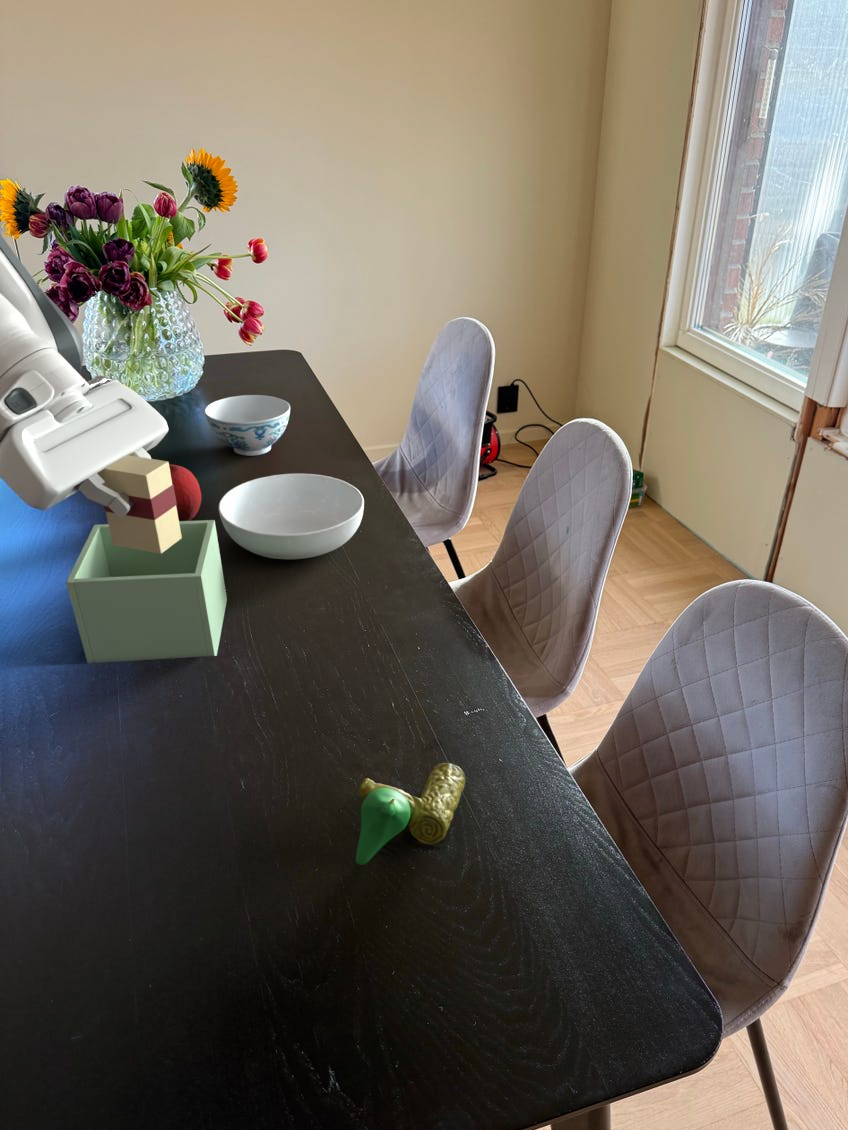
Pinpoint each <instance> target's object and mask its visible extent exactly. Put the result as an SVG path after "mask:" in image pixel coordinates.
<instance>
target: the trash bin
mask: <svg viewBox="0 0 848 1130" xmlns="http://www.w3.org/2000/svg"><path fill="white" fill-rule="evenodd" d="M179 525H180V530H181V536H182V538H181V539H180V540H179V541H177V542H176V543H175V544H173V545H172V546H171V547H170V548H168V549H167V550H166V551H164V552H163V553H162V554H159V553H153V552H148V551H142V550H137V549H132V548H126V547H121V546H115V545H113V542H112V538H111V533H110V529H109V524H108V523H105V524H103V523H102V524H94V525H93V526H92V529H90V533H89V535H88V536H87V539H86V540H85V543H84V545H83V546H82V549H81V551H80V553H79V555H78V557H77V559H76V561H75V562H74V565H73V567H72V569H71V571H70V573H69V576H68V578H67V579H66V581H65V586H66V588H67V592H68V596H69V600H70V603H71V607H72V612H73V614H74V618H75V621H76V626H77V630H78V634H79V637H80V640H81V645H82V649H83V651H84V656H85V659H86V663H87V664H100V663H117V662H119V663H120V662H134V661H135V662H136V661H153V660H169V659H170V660H171V659H185V658H187V659H188V658H200V657H203V658H205V657H218V652H219V651H218V650H219V647H220V640H221V634H222V629H223V623H224V618H225V613H226V608H227V602H228V598H227V597H228V596H227V592H226V586H225V585H226V584H225V579H224V578H225V577H224V572H223V565H222V559H221V553H220V547H219V546H220V545H219V541H218V532H217V527H216V521H215V519H205V520H190V521H179Z"/></svg>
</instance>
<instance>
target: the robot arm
mask: <svg viewBox="0 0 848 1130" xmlns="http://www.w3.org/2000/svg"><path fill="white" fill-rule="evenodd" d="M83 362H84V343H83V340H82V337H81V334H80V333H79V331H78V330H77V328H76V326H75V325H74V323H73V321H71V320H70V318H69V317H68V316H67V315H66V314H65V313H64V311H62V310H61V308H60V307H59V306H58V305H57V304H56V303H55V302H54V301H53V300H52V299H51V298H50V297H49V296H48V295H47V294H46V293H45V291H44V290H43V289H42V288H41V286H40V285H39V284H38V282H37V281H36V280H35V279H34V277H33V276H32V274H30V272H29V270H27V267H26V266H25V265H24V264H23V263H22V261H21V260H20V258H19V257H18V256H17V254H16V252H14V250H13V249H12V248H11V246H10V245H9V244H8V242H7V241H6V239H5V238H4V237H3V235H2V234H1V233H0V479H1V480H2V481H3V482H4V483H5V485H7V486H8V488H10V490H12V491H13V493H15V495H17V497H18V498H19V499H21V500H22V501H23V502H24V504H26V505H27V506H29V507H31V508H34V509H37V510H40V511H43V512H44V511H47V510H49V509H51V508H53V507H55V506H56V505H57V504H59V503H61V502H63V501H64V500H67V499H69V498H70V497H71V496H73V495H75V494H77V493H78V492H80V493H81V494H82V495H83V496H84V497H85V498H86V499H88V500H90V501H92V502H95V503H97V504H99V505H102V506H103V505H104V506H108V507H109V508H110V509H111V510H112V511H113V512H114V513H115V514H116V515H117V516H119V517H123V516H125V515H126V514H128V513H129V512H130V511H131V510H132V509H133V508H134V507H135V503H134V501H133V500H132V499H130V497H129V496H128V495H127V494H126V493H125V492H123V493H121V494H119V493H117V492H115V491H113V490H111V489H109V488H107V487H106V486H104V485H103V484H104V483H105V481H104V480H103V479H102V478H101V477H100V476H99V475H98V474H97V473H98V472H100V471H102V470H103V469H105V468H107V467H108V466H110V465H112V464H114V463H115V462H117V461H119V460H121V459H122V458H124V457H126V456H128V455H129V456H136V457H142V458H149V459H152V457H151V455H150V454H149V453H148V451H150V450H152V449H153V448H155V447H156V446H158V444H159V443H161V441H162V440H163V439H164V437H165V436H166V435H167V434H168V432H169V426H168V422H167V420H166V419H165V418H164V416H163V415H162V414H160V412H159V411H157V409H155V408H154V407H153V406H152V405H151V404H150V403H149V402H147V401H146V400H145V399H144V398H143V397H142V396H141V395H139V394H138V393H137V392H136V391H135V390H133V389H132V388H131V387H129V386H127V385H126V384H124V383H122V382H121V381H120V380H118V379H113V378H111V377H106V376H104V375H97V376H95V377H93V378H92V379H90V380H87V381H86V379H85V378H84V377H83V376H82V375H81V372H82V368H83ZM104 506H103V507H104Z"/></svg>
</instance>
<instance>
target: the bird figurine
mask: <svg viewBox="0 0 848 1130" xmlns="http://www.w3.org/2000/svg"><path fill="white" fill-rule="evenodd" d="M466 782H467V778H466V775H465V772H464V770H463V769H462V768H460V766H458V765H456V764H453V763H450V762H442V763H439V764H438V765H435V766H434V767H433V769H432V770H431V772H430V773H429V775H428V778H427V781H426V782H425V785H424V787H423V791H422V792H421V794H420V797H417V796H413V795H410V793H408V792H405V790H403V789H401V788H398V787H395V786H391V785H388V784H383V783H376V782H375V781H374V780H372V779H370V778H368V777H367V778H364V779H363V781H362V782H360V786H359V788H358V796H359V798H361V799H363V802H362V803H361V808H360V833H359V838H358V843H357V849H356V854H355V863H356V864H357V865H359V866H364V865H366V864H367V863H368V862H370V860H371V859H372V858H373V857H374V856H375V855H376V854H377V853H378V852H379V851H380V850H381V849H382V848H383V847H384V846H385V845H386V844H387V843H389V841H390V840H392V839H393V838H394V837H395V836H397V835H398V834H400V833H402V831H404V829H406V827H407V826H408V830H409V832H410V834H411V836H412V837H413V838H415V839H416V840H417V841H418V842H419V843H421V844H423V845H430V846H431V845H435V844H438V843H440V842H441V841H442V840H443V839H444V838H445V837H446V835H447V831H448V830H449V828H450V825H451V822H452V821H453V818H454V812H455V811H456V810H457V808H458V806H459V803H460V800H461V797H462V793H463V791H464V789H465V787H466V784H467V783H466Z"/></svg>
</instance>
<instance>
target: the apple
mask: <svg viewBox="0 0 848 1130" xmlns="http://www.w3.org/2000/svg"><path fill="white" fill-rule="evenodd" d="M169 468H170V474H171V479H172V484H173V486H174V492H175V498H176V504H177V505H176V508H177V513H178V519H179V521H192V519H193V518H195V516H196V515H197V513H198V512H199V510H200V507H201V504H202V492H201V487H200V484H199V482H198V479H197V478H196V477H195V475H194V474H193V473H192V471H190V470H189V469H187V468H186V467H184V466H181V465H176V464H170V463H169Z"/></svg>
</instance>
